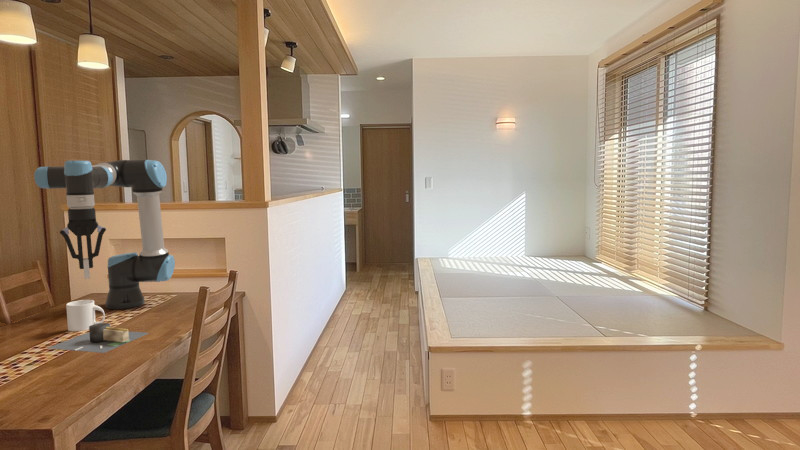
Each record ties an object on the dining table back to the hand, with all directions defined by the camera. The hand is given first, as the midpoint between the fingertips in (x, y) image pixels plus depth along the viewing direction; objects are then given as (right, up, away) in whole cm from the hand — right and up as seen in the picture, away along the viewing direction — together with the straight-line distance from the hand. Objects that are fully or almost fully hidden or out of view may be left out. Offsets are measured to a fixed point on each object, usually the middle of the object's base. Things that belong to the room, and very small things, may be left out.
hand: (87, 277), depth 158 cm
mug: (-12, -22, +18) cm, 31 cm away
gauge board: (+2, -23, +4) cm, 23 cm away
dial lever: (+6, -22, +2) cm, 23 cm away
